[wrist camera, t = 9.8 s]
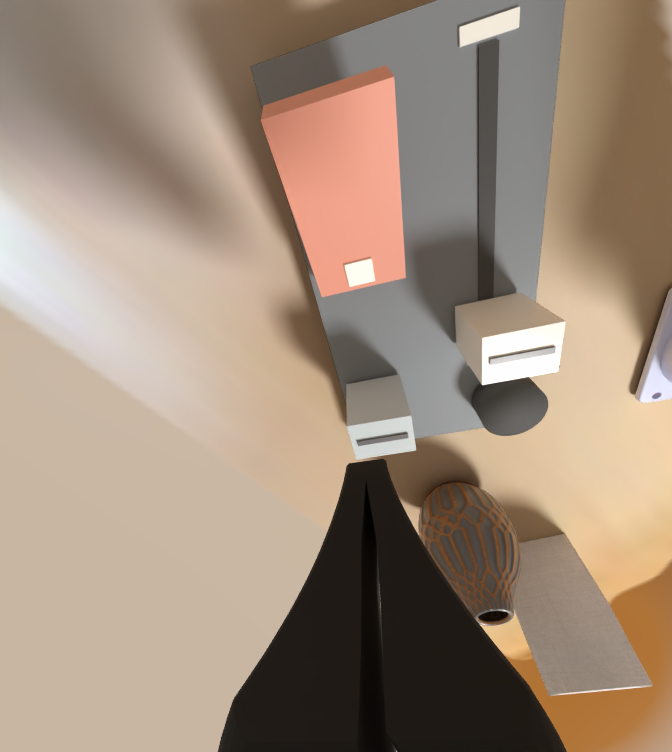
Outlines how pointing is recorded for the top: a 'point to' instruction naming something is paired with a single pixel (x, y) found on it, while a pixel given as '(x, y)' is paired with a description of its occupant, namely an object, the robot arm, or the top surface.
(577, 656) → the grey rectangular block
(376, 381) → the slotted white box
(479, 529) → the vase
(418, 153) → the console
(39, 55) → the top surface
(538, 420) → the button
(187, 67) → the top surface
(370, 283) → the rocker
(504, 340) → the slotted cream block
